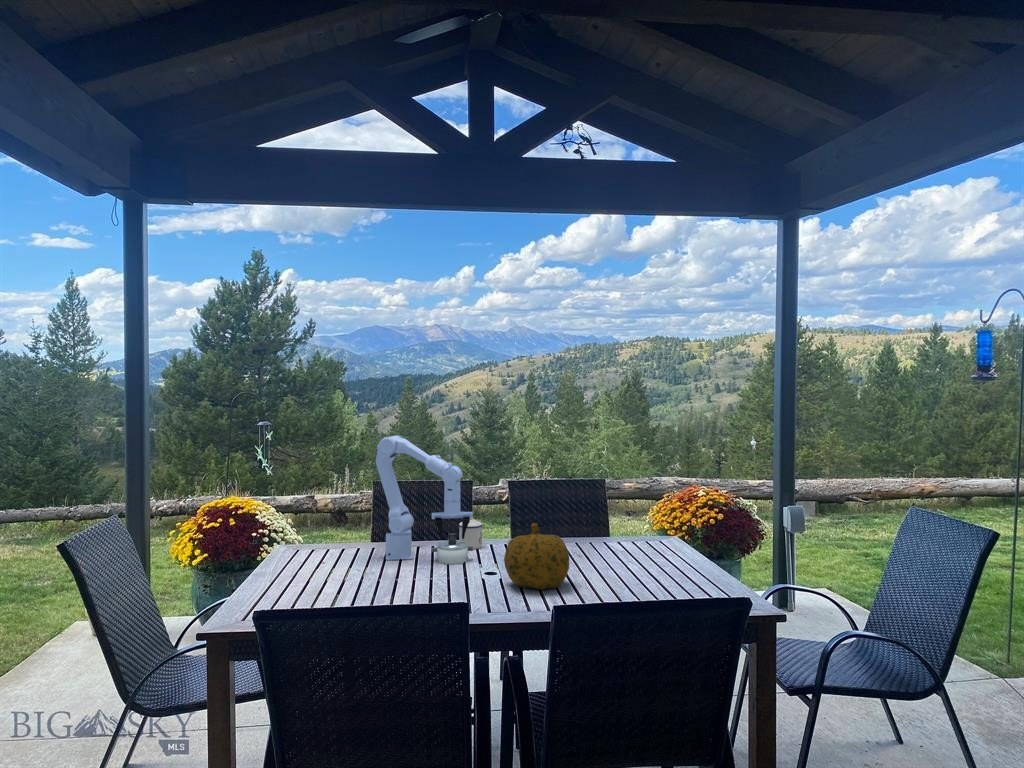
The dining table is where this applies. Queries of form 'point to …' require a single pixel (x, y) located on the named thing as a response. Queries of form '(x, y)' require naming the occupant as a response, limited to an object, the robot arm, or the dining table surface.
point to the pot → (452, 555)
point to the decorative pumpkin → (537, 560)
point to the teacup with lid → (472, 534)
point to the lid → (452, 543)
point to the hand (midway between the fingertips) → (452, 538)
